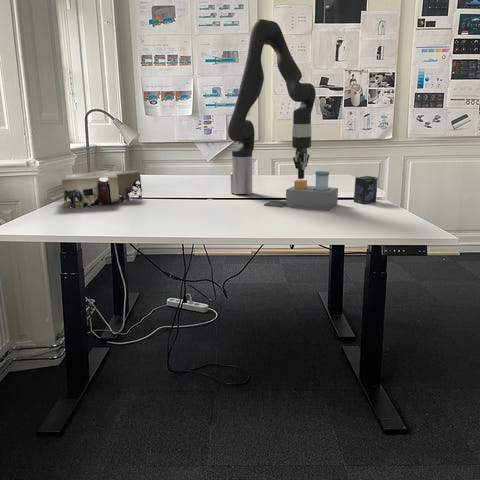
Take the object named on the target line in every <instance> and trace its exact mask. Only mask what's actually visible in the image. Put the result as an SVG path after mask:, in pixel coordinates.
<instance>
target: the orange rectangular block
mask: <svg viewBox="0 0 480 480" xmlns="http://www.w3.org/2000/svg"><path fill="white" fill-rule="evenodd" d="M293 183H294V188H295V189H305V188H307V186H308V180H307V179H297V180H294V182H293Z"/></svg>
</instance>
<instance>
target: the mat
mask: <svg viewBox="0 0 480 480" xmlns="http://www.w3.org/2000/svg"><path fill="white" fill-rule="evenodd" d="M263 206H264V207H265V206H266V207H275V208H283V207H286V201H279V200H270V201H267V202H265V203H263Z"/></svg>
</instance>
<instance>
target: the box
mask: <svg viewBox="0 0 480 480" xmlns="http://www.w3.org/2000/svg"><path fill="white" fill-rule="evenodd" d="M378 180H379V178H378V177H376V176H370V175H365V176H355V181H354V193H353V194H354V195H353V202H354V203H357V204H362V205H365V204H370V203H376V202H377V193H378V192H377V191H378Z"/></svg>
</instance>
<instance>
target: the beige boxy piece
mask: <svg viewBox="0 0 480 480" xmlns="http://www.w3.org/2000/svg"><path fill="white" fill-rule="evenodd" d="M141 177H142V176H141V173H140V171H138V170H121V171H93V172H76V173H72V172H70V173H65V174H64V176H63V178H62V180H61V185H62V191H63V193H62V194H63V200H64V209H71V208H70V207H73V208H75V207H83V208H86V206H88V207H87V208H91V207H90V206H93V207H95V206H94V205H99V206H111V205H112V204H113V205H114V203H118V202H124V201H130V198H135V196H138V197H137V198H139V199H140V200H142V199H143V195H142V192H143V189H142V178H141ZM101 178H103V179H105V178H106V179H107V180H106V181H102V180H100V179H101ZM137 182H138V183H137ZM134 188H135V189H134ZM139 191H140V193H139V195H138V192H139ZM131 193H133V194H132V195H131ZM130 195H131V196H130ZM69 200H70V201H69ZM67 201H68V202H70V205H68V206H67Z"/></svg>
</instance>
